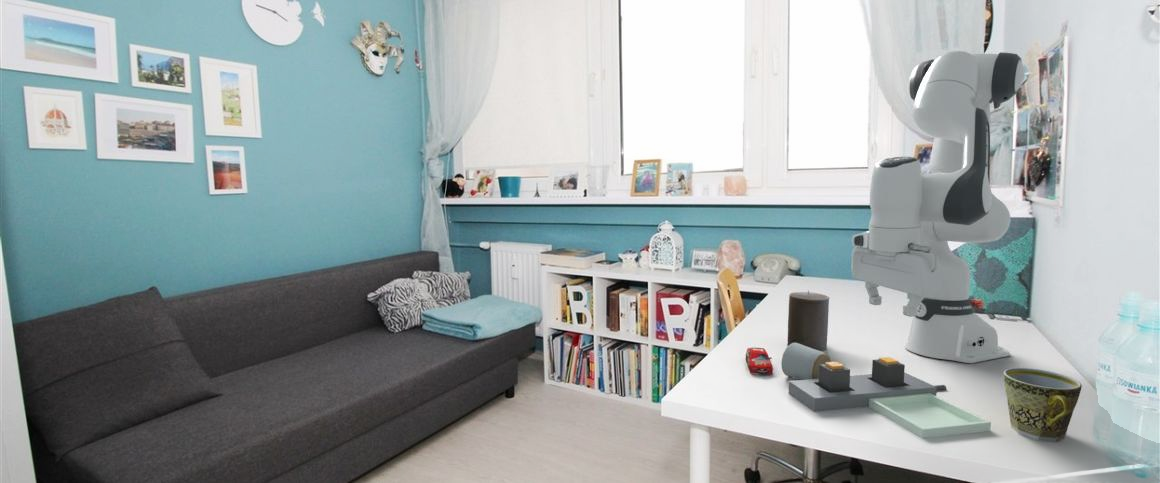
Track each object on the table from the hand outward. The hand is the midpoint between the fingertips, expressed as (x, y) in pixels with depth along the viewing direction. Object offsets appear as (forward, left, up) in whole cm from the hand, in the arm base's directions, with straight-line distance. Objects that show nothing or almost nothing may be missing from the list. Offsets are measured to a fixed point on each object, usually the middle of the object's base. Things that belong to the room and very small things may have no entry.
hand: (891, 309), depth 108 cm
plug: (0, 0, -17) cm, 17 cm away
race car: (+17, -22, -18) cm, 33 cm away
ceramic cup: (-12, +21, -18) cm, 30 cm away
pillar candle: (-3, -33, -18) cm, 38 cm away
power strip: (+3, 0, -18) cm, 18 cm away
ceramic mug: (+10, -12, -18) cm, 24 cm away
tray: (+1, +11, -18) cm, 21 cm away
